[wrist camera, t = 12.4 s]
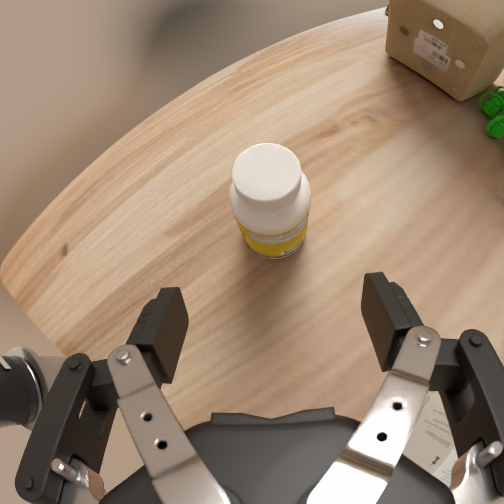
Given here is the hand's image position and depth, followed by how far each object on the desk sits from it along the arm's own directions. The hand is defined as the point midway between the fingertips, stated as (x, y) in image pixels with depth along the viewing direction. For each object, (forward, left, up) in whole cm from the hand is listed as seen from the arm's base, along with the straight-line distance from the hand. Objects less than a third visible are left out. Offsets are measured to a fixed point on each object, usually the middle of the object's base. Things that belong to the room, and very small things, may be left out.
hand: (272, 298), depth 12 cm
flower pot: (+32, +11, -4) cm, 34 cm away
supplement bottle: (+4, +6, -12) cm, 14 cm away
